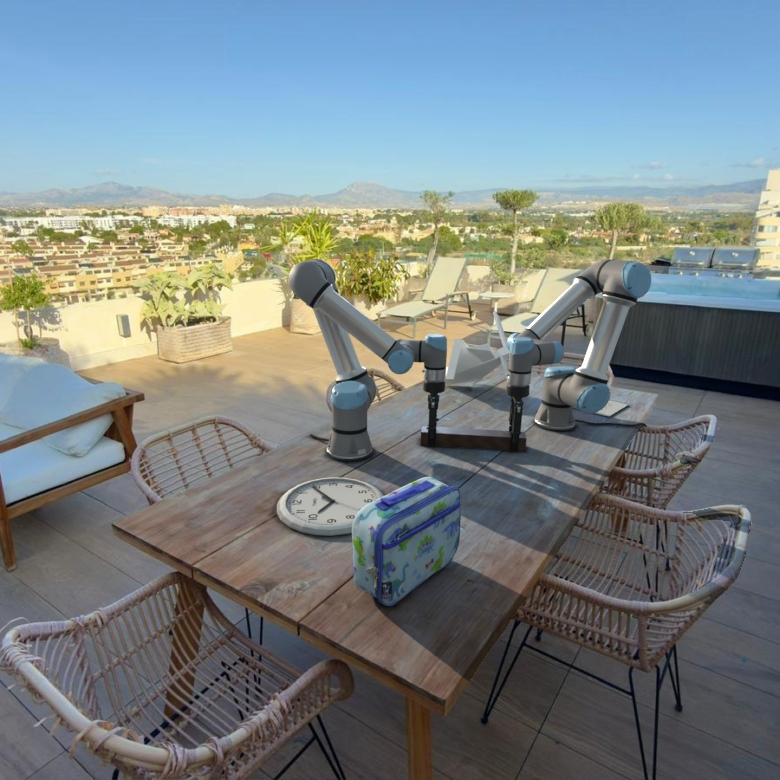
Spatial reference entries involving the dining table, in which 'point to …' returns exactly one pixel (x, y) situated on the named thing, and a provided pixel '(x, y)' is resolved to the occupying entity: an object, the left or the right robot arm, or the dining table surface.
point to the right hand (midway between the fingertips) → (512, 447)
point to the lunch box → (405, 538)
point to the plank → (473, 438)
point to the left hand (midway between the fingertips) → (431, 442)
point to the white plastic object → (476, 359)
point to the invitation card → (611, 408)
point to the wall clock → (325, 505)
